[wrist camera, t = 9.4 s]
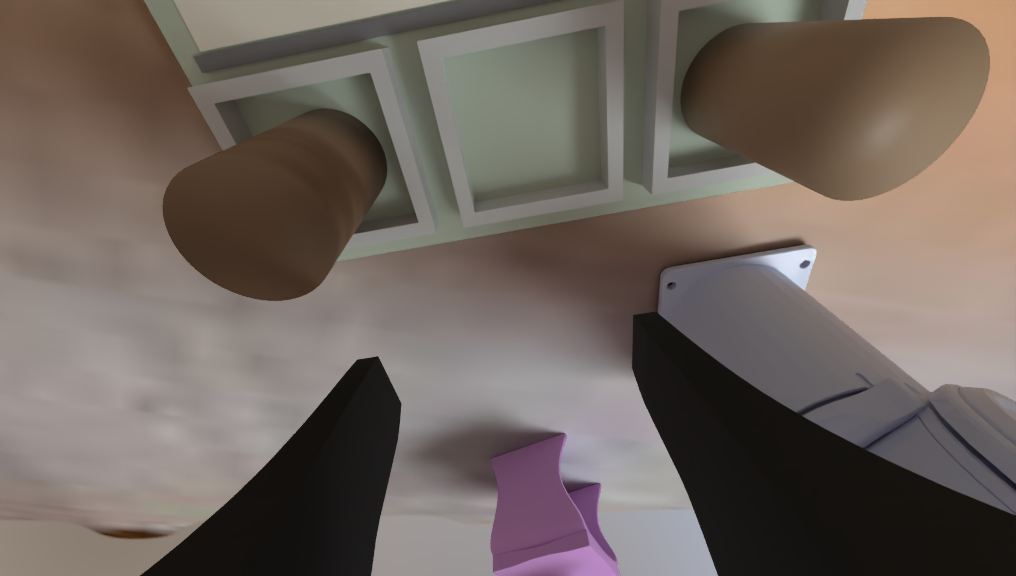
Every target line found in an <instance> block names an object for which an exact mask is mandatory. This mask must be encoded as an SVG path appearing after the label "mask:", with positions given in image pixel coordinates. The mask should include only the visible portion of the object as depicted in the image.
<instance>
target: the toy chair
mask: <svg viewBox="0 0 1016 576" xmlns="http://www.w3.org/2000/svg"><path fill="white" fill-rule="evenodd" d="M566 438H567V436H566V434H565V433H564V434H561V435H558V436H555V437H552V438H549V439H546V440H543V441H540V442H538V443H535V444H532V445H529V446H526V447H523V448H520V449H517V450H515V451H512V452H509V453H506V454H503V455H500V456H497V457H494V458H492V459H491V460H490V461H491V464H492V466H493V469H494V472H495V475H496V480H497V486H498V501H497V508H496V514H495V519H494V524H493V529H492V534H491V552H492V554H493V572H494V573H495V574H496V575H498V576H620V572H619V568H618V561H617V558H616V556H615V554H614V552H613V551H612V549H611V548H610V546H609V545H608V543H607V542H606V540H605V538H604V536H603V534H602V532H601V529H600V526H599V523H598V504H599V497H600V492H601V487H602V486H601V484H600V483H599V484H595V485H592V486H589V487H586V488H582V489H579V490H576V491H573V492H570V493H567V491H566V489H565V487H564V485H563V482H562V479H561V476H560V461H561V455H562V451H563V447H564V444H565V441H566Z"/></svg>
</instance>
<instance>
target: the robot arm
mask: <svg viewBox="0 0 1016 576" xmlns="http://www.w3.org/2000/svg"><path fill="white" fill-rule="evenodd" d="M816 254H817V250H816V248H814V247H812V246H811V245H800V246H794V247H788V248H782V249H776V250H770V251H764V252H758V253H752V254H746V255H740V256H734V257H728V258H722V259H716V260H710V261H704V262H698V263H692V264H686V265H680V266H674V267H669V268H666V269H665V270H663V272H662V273H661V276H660V288H659V303H658V313H657V312H651V313H644V314H638V315H633V353H632V369H633V372H634V375H635V378H636V381H637V384H638V387H639V390H640V392H641V395H642V398H643V401H644V403H645V405H646V407H647V409H648V412H649V414H650V416H651V418H652V420H653V422H654V424H655V426H656V428H657V430H658V432H659V434H660V436H661V438H662V440H663V443H664V445H665V447H666V449H667V451H668V453H669V455H670V457H671V459H672V461H673V463H674V465H675V467H676V469H677V471H678V473H679V475H680V477H681V480H682V482H683V484H684V486H685V489H686V491H687V493H688V496H689V498H690V501H691V504H692V506H693V509H694V511H695V514H696V517H697V519H698V522H699V525H700V527H701V530H702V532H703V535H704V538H705V540H706V544H707V546H708V549H709V552H710V555H711V557H712V560H713V562H714V566H715V568H716V571H717V574H718V576H1016V402H1015V401H1013V400H1011V399H1009V398H1008V397H1006V396H1004V395H1001V394H999V393H997V392H995V391H992V390H989V389H985V388H973V387H961V386H958V385H953V384H945V385H942V386H941V387H939V388H938V389H936V390H935V391H933V392H930V391H928V390H927V389H926V388H924V387H923V386H922V385H921V384H919V383H918V382H917V381H916V380H914V379H913V378H912V377H911V376H909V375H908V374H907V373H906V372H905V371H903V370H902V369H901V368H900V367H898V366H897V365H896V364H895V363H893V362H892V361H891V360H890V359H888V358H887V357H886V356H885V355H883V354H882V353H881V352H880V351H879V350H877V349H876V348H875V347H874V346H872V345H871V344H870V343H869V342H867V341H866V340H865V339H864V338H862V337H861V336H860V335H859V334H858V333H856V332H855V331H854V330H853V329H851V328H850V327H849V326H848V325H846V324H845V323H844V322H843V321H841V320H840V319H839V318H838V317H836V316H835V315H834V314H833V313H832V312H830V311H829V310H828V309H827V308H825V307H824V306H823V305H822V304H820V303H819V302H818V301H817V300H815V299H814V298H813V297H812V296H811V295H809V294H808V293H807V292H806V291H805V288H806V285H807V282H808V279H809V276H810V273H811V270H812V267H813V264H814V261H815V257H816ZM803 261H804V262H803ZM801 262H803V263H802V264H801ZM671 282H673V284H672V285H670V286H667V285H668V284H669V283H671ZM400 414H401V402H400V400H399V398H398V396H397V394H396V392H395V390H394V388H393V386H392V384H391V382H390V379H389V377H388V375H387V373H386V371H385V369H384V367H383V365H382V363H381V361H380V359H379V357H371V358H365V359H359V360H357V361H356V362H355V363H354V364H353V365H352V366H351V368H350V369H349V370H348V371H347V372H346V374H345V375H344V376H343V377H342V378H341V380H340V381H339V382H338V383H337V384H336V386H335V387H334V388H333V389H332V391H331V392H330V393H329V394H328V395H327V397H326V398H325V399H324V400H323V401H322V403H321V404H320V405H319V406H318V407H317V408H316V410H315V411H314V412H313V413H312V414H311V416H310V417H309V418H308V419H307V420H306V422H305V423H304V424H303V425H302V426H301V427H300V428H299V429H298V430H297V432H296V433H295V434H294V435H293V436H292V437H291V438H290V439H289V440H288V441H287V443H286V444H285V445H284V446H283V447H282V448H281V449H280V450H279V451H278V452H277V454H276V455H275V456H274V457H273V458H272V459H271V460H270V461H269V462H268V463H267V464H266V465H265V466H264V467H263V468H262V469H261V470H260V471H259V472H258V473H257V474H256V475H255V476H254V477H253V478H252V479H251V480H250V481H249V482H248V483H247V484H246V485H245V486H244V487H243V488H242V489H241V490H240V491H239V492H238V493H237V494H236V495H235V496H234V497H232V498H231V499H230V500H229V501H228V502H227V503H226V504H225V505H224V506H223V507H221V508H220V509H219V510H218V511H217V512H216V513H215V514H213V515H212V516H211V517H210V518H209V519H208V520H207V521H205V522H204V523H203V524H202V525H201V526H200V527H199V528H197V529H196V530H195V531H194V532H193V533H192V534H191V535H190V536H189V537H187V538H186V539H185V540H184V541H183V542H181V543H180V544H179V545H178V546H177V547H175V548H174V549H173V550H172V551H170V552H169V553H168V554H167V555H165V556H164V557H163V558H162V559H161V560H160V561H158V562H157V563H156V564H154V565H153V566H152V567H151V568H149V569H148V570H147V571H145V572H144V573H143V574H142V575H140V576H371V572H372V564H373V557H374V549H375V542H376V536H377V530H378V525H379V519H380V515H381V511H382V507H383V503H384V498H385V494H386V490H387V485H388V481H389V477H390V472H391V468H392V464H393V459H394V455H395V450H396V445H397V441H398V434H399V425H400Z"/></svg>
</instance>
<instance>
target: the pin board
mask: <svg viewBox="0 0 1016 576" xmlns="http://www.w3.org/2000/svg"><path fill="white" fill-rule="evenodd" d="M144 2H145V3H146V5H147V7H148V9H149V10H150V12H151V14H152V16H153V18H154V19H155V21H156V23H157V25H158V27H159V28H160V30H161V32H162V34H163V35H164V37H165V39H166V41H167V43H168V44H169V46H170V48H171V50H172V51H173V53H174V55H175V57H176V59H177V60H178V62H179V64H180V66H181V67H182V69H183V71H184V73H185V75H186V76H187V78H188V80H189V82H190V84H191V85H192V87H188V88H187V89H188V91H189V93H190V94H191V96H192V98H193V100H194V101H195V103H196V105H197V107H198V108H199V110H200V112H201V114H202V115H203V117H204V119H205V121H206V122H207V124H208V126H209V128H210V129H211V131H212V133H213V135H214V137H215V138H216V140H217V142H218V144H219V145H220V147H221V149H222V151H223V150H225V149H228V148H230V147H232V146H234V145H236V144H238V143H241V142H243V141H245V140H247V139H249V138H252V137H254V136H256V135H258V134H260V133H263V132H265V131H267V130H269V129H271V128H273V127H276V126H278V125H280V124H282V123H284V122H287V121H289V120H291V119H293V118H295V117H298V116H300V115H302V114H304V113H306V112H308V111H312V110H315V109H335V110H339V111H342V112H345V113H348V114H350V115H352V116H354V117H355V118H357V119H358V120H360V121H361V122H363V123H364V124H365V125H366V126H367V127H368V128H369V129H370V130H371V131H372V132H373V133H374V134H375V136H376V137H377V139H378V140H379V142H380V144H381V145H382V148H383V150H384V153H385V156H386V160H387V178H386V182H385V185H384V187H383V189H382V190H381V192H380V194H379V195H378V197H377V198H376V200H375V201H374V203H373V205H372V206H371V208H370V209H369V211H368V212H367V214H366V215H365V217H364V219H363V220H362V222H361V223H360V225H359V226H358V228H357V229H356V231H355V233H354V234H353V236H352V237H351V239H350V240H349V242H348V243H347V245H346V247H345V248H344V250H343V251H342V253H341V254H340V256H339V257H338V259H337V261H336V262H338V261H344V260H350V259H355V258H361V257H367V256H373V255H378V254H384V253H390V252H396V251H401V250H407V249H413V248H418V247H424V246H430V245H436V244H441V243H447V242H453V241H459V240H464V239H470V238H476V237H481V236H487V235H493V234H499V233H504V232H510V231H516V230H522V229H527V228H533V227H539V226H544V225H550V224H556V223H562V222H567V221H573V220H579V219H585V218H590V217H596V216H602V215H607V214H613V213H619V212H625V211H630V210H636V209H642V208H648V207H653V206H659V205H665V204H670V203H676V202H682V201H688V200H693V199H699V198H705V197H711V196H716V195H722V194H728V193H733V192H739V191H745V190H751V189H756V188H762V187H768V186H774V185H779V184H785V183H791V182H797V183H799V184H801V185H803V186H805V187H807V188H809V189H811V190H813V191H815V192H817V193H819V194H822V195H824V196H826V197H829V198H832V199H836V200H842V201H853V200H862V199H866V198H871V197H874V196H877V195H880V194H883V193H885V192H888V191H890V190H892V189H894V188H896V187H898V186H900V185H902V184H904V183H906V182H907V181H909V180H910V179H912V178H913V177H915V176H917V175H918V174H919V173H921V172H922V171H923V170H925V169H926V168H927V167H928V166H930V165H931V164H932V163H933V162H934V161H936V160H937V159H938V158H939V157H940V156H941V155H942V154H943V153H944V152H945V151H946V150H947V149H948V148H949V147H950V146H951V144H952V143H953V142H954V141H955V140H956V139H957V137H958V136H959V135H960V134H961V132H962V131H963V130H964V128H965V127H966V125H967V124H968V122H969V121H970V119H971V118H972V116H973V114H974V112H975V111H976V109H977V107H978V105H979V103H980V100H981V98H982V96H983V93H984V90H985V87H986V84H987V80H988V75H989V69H990V56H989V50H988V46H987V43H986V41H985V38H984V37H983V35H982V34H981V32H980V31H979V30H978V29H977V28H976V27H974V26H973V25H972V24H970V23H968V22H966V21H964V20H961V19H957V18H953V17H924V18H893V19H862V16H863V12H864V9H865V6H866V2H867V0H144ZM861 19H862V20H861Z"/></svg>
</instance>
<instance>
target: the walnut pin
mask: <svg viewBox="0 0 1016 576" xmlns="http://www.w3.org/2000/svg"><path fill="white" fill-rule="evenodd" d="M386 178H387V160H386V156H385V153H384V150H383V148H382V145H381V144H380V142H379V140H378V139H377V137H376V136H375V134H374V133H373V132H372V131H371V130H370V129H369V128H368V127H367V126H366V125H365V124H364V123H363V122H361V121H360V120H358V119H357V118H355V117H354V116H352V115H350V114H348V113H345V112H342V111H339V110H335V109H315V110H312V111H308V112H306V113H304V114H302V115H300V116H298V117H295V118H293V119H291V120H289V121H287V122H284V123H282V124H280V125H278V126H276V127H273V128H271V129H269V130H267V131H265V132H263V133H260V134H258V135H256V136H254V137H252V138H249V139H247V140H245V141H243V142H241V143H238V144H236V145H234V146H232V147H230V148H228V149H225V150H223V151H221V152H219V153H217V154H214V155H212V156H210V157H208V158H206V159H203V160H201V161H199V162H197V163H195V164H193V165H191V166H189V167H187V168H185V169H183V170H182V171H180V172H179V173H178V174H177V175H176V176H175V177H174V178H173V179H172V180H171V182H170V183H169V185H168V187H167V189H166V192H165V195H164V199H163V217H164V221H165V225H166V228H167V231H168V233H169V236H170V237H171V239H172V241H173V243H174V245H175V246H176V248H177V249H178V251H179V252H180V253H181V254H182V256H183V257H184V258H185V259H186V260H187V261H188V262H189V263H190V264H191V265H192V266H193V267H194V268H195V269H196V270H197V271H198V272H200V273H201V274H202V275H203V276H205V277H206V278H208V279H209V280H211V281H212V282H214V283H216V284H217V285H219V286H221V287H223V288H225V289H227V290H229V291H231V292H234V293H237V294H239V295H242V296H246V297H250V298H254V299H260V300H269V301H282V300H289V299H294V298H298V297H301V296H303V295H306V294H307V293H309V292H311V291H313V290H314V289H315V288H317V287H318V286H319V285H320V284H321V283H322V282H323V280H324V279H325V278H326V276H327V275H328V273H329V271H330V270H331V268H332V267H333V265H334V264H335V262H336V261H337V259H338V257H339V256H340V254H341V253H342V251H343V250H344V248H345V247H346V245H347V243H348V242H349V240H350V239H351V237H352V236H353V234H354V233H355V231H356V229H357V228H358V226H359V225H360V223H361V222H362V220H363V219H364V217H365V215H366V214H367V212H368V211H369V209H370V208H371V206H372V205H373V203H374V201H375V200H376V198H377V197H378V195H379V194H380V192H381V190H382V189H383V187H384V185H385V182H386Z"/></svg>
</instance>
